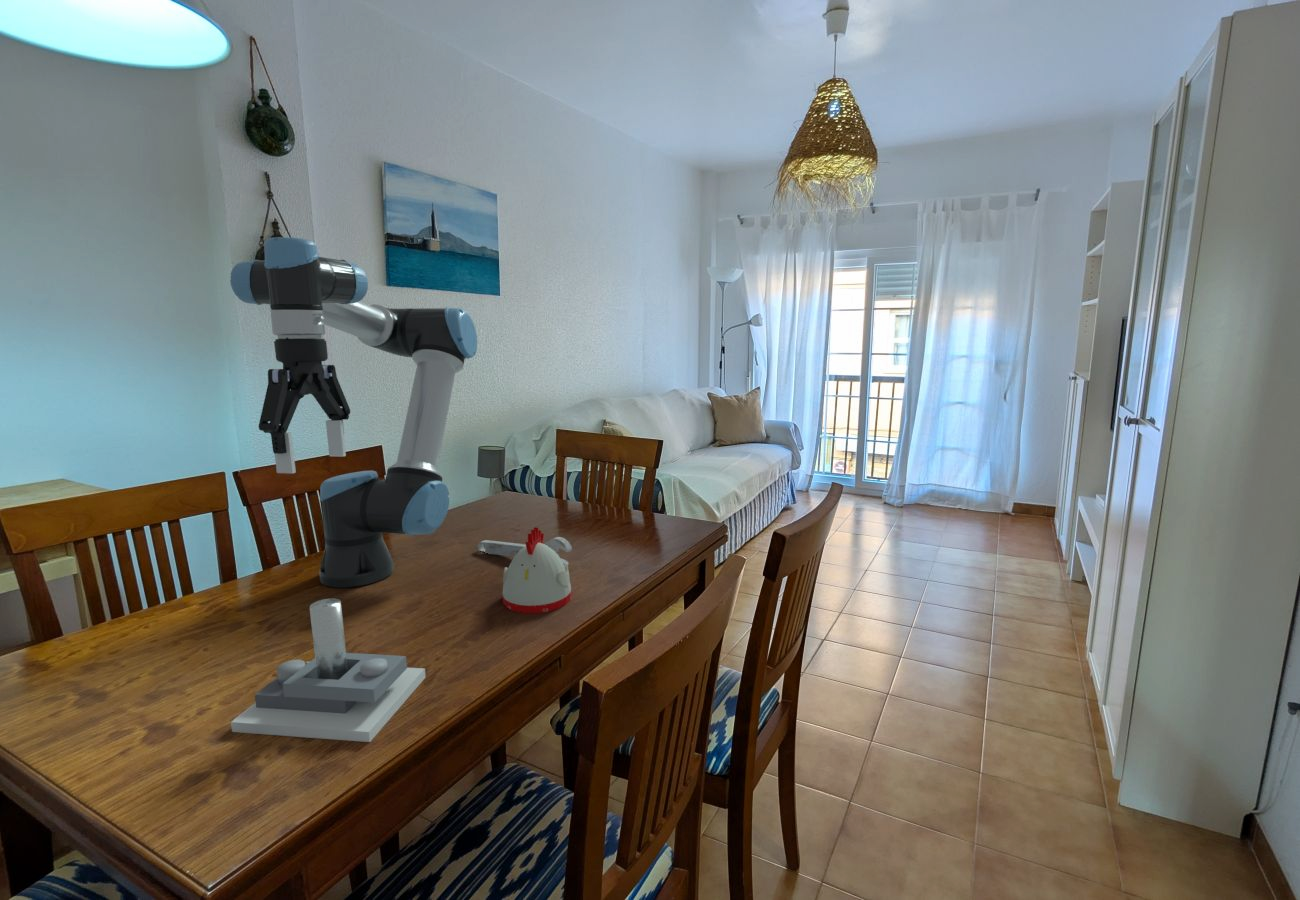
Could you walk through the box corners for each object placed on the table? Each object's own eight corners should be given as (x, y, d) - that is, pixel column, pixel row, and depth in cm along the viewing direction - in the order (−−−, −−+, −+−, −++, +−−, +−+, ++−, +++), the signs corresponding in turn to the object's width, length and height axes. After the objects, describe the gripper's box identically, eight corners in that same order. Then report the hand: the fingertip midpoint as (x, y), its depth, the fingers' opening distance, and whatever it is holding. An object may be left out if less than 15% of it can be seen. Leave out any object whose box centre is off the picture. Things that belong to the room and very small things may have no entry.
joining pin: (313, 700, 90) (303, 609, 88) (330, 684, 94) (321, 597, 91) (339, 702, 90) (329, 611, 87) (355, 686, 94) (346, 599, 91)
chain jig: (232, 731, 85) (226, 688, 84) (307, 670, 101) (303, 632, 100) (369, 742, 83) (365, 697, 82) (425, 677, 99) (422, 639, 98)
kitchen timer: (491, 610, 123) (487, 537, 120) (517, 583, 136) (514, 517, 133) (559, 615, 120) (557, 541, 118) (579, 587, 134) (577, 520, 131)
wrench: (485, 561, 157) (575, 572, 140) (479, 563, 156) (569, 575, 139) (481, 530, 156) (571, 537, 140) (475, 532, 155) (565, 539, 138)
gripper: (267, 338, 90) (283, 481, 94) (364, 336, 114) (374, 450, 118) (219, 338, 91) (237, 480, 95) (325, 336, 115) (337, 450, 119)
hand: (313, 464), depth 106 cm, fingers open, 13 cm apart
